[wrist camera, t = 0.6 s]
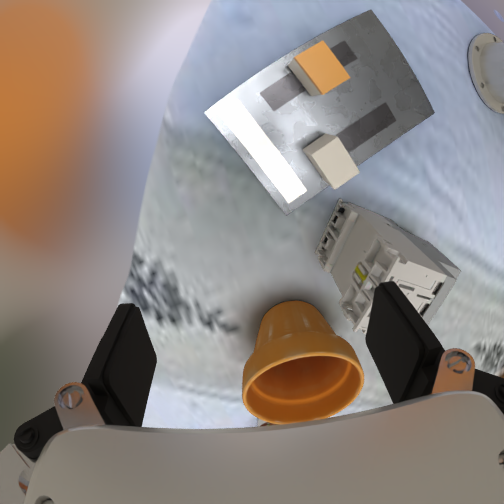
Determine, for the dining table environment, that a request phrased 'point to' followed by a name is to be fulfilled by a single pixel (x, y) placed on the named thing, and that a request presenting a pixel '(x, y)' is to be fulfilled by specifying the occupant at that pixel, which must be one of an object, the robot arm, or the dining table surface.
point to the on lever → (331, 160)
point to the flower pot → (299, 367)
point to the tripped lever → (318, 69)
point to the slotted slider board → (322, 110)
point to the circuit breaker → (382, 263)
